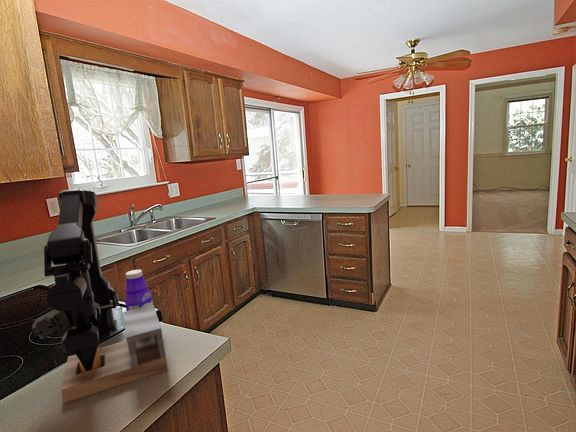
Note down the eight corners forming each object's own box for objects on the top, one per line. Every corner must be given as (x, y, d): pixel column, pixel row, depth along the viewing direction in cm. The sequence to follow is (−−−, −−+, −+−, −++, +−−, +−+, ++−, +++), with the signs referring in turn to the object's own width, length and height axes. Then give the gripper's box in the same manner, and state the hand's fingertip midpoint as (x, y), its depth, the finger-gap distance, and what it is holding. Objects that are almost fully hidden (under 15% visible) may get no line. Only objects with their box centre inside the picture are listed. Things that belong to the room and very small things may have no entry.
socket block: (70, 367, 84) (62, 327, 83) (159, 341, 93) (153, 304, 91) (63, 404, 71) (53, 357, 69) (167, 370, 80) (161, 328, 78)
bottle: (145, 338, 95) (135, 276, 92) (126, 338, 96) (115, 276, 93) (160, 325, 102) (151, 267, 99) (142, 325, 103) (132, 267, 100)
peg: (83, 374, 81) (76, 342, 80) (103, 369, 83) (97, 336, 81) (82, 384, 77) (75, 350, 76) (103, 378, 79) (96, 344, 78)
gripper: (39, 289, 81) (53, 352, 84) (21, 320, 65) (39, 397, 68) (94, 278, 86) (105, 338, 89) (91, 304, 70) (105, 377, 72)
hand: (90, 360), depth 79 cm, fingers open, 9 cm apart
